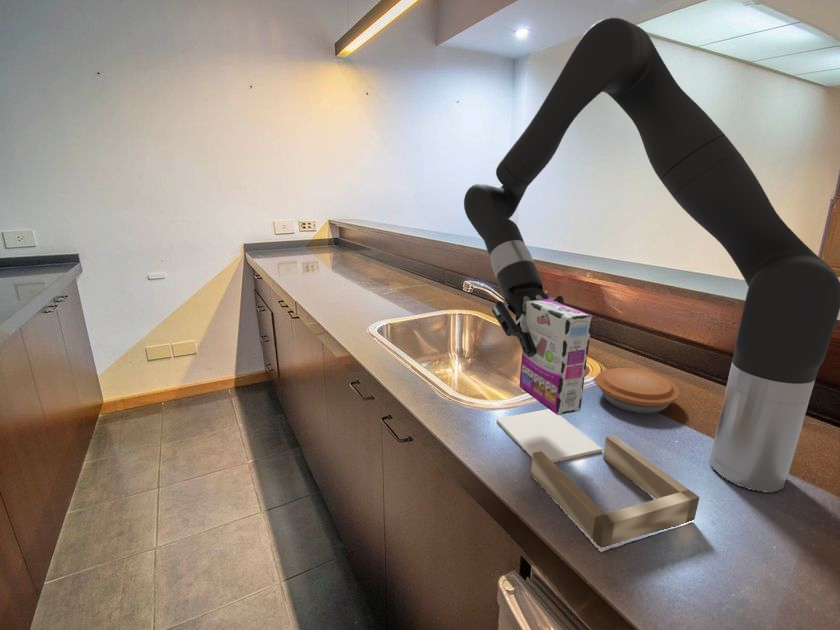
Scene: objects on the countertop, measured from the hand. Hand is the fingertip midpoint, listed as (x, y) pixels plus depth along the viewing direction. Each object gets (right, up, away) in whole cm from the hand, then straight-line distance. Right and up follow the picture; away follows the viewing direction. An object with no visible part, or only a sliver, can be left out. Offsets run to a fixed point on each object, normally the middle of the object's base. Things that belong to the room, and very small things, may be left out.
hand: (546, 352), depth 72 cm
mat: (+1, -15, +3) cm, 15 cm away
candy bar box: (+1, -8, +1) cm, 8 cm away
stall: (+5, -19, -12) cm, 23 cm away
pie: (+23, -11, +15) cm, 30 cm away
